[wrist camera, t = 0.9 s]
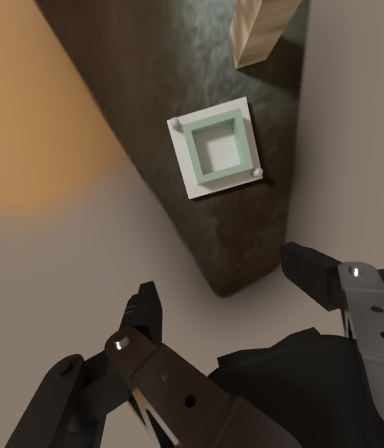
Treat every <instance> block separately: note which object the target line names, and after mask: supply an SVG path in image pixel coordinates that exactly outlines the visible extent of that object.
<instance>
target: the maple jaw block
mask: <svg viewBox="0 0 384 448" xmlns="http://www.w3.org/2000/svg"><path fill="white" fill-rule="evenodd" d="M301 1H302V0H237V4H236V8H235V12H234V15H233V19H232V23H231V27H230V31H229V39H230V44H231V49H232V53H233V58H234V63H235V67H236V69H238V68H242V67H245V66H248V65H251V64H254V63H258V62H261V61H264V60H266V59H267V57H268V56H269V54H270V52H271V51H272V49H273V47H274V46H275V44H276V42H277V41H278V39H279V37H280V36H281V34H282V32H283V31H284V29H285V27H286V26H287V24H288V22H289V21H290V19H291V17H292V16H293V14H294V12H295V11H296V9H297V7H298V6H299V4H300V2H301Z"/></svg>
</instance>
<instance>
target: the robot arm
mask: <svg viewBox="0 0 384 448" xmlns="http://www.w3.org/2000/svg"><path fill="white" fill-rule="evenodd" d="M279 253H280V260H281V267H282V271H283V273H284V275H285V276H286V277H287V278H288V279H289V280H290V281H292V282H293V283H294V284H295V285H297V286H298V287H299V288H300V289H301V290H303V291H304V292H305V293H306V294H308V295H309V296H310V297H311V298H313V299H314V300H315V301H316V302H317V303H319V304H320V305H321V306H322V307H324V308H325V309H326V310H327V311H332V310H335V309H338V308H339V309H340V310H341V319H342V325H343V330H344V335H345V337H343V336H338V335H321V334H320V333H319V332H318V331H317V330H316V329H315V328H314V327H312V328H310V329H306V330H303V331H300V332H296V333H294V334H291V335H289V336H287V337H286V338H284V339H283V340H281V341H280V342H278V343H276V344H275V345H273V346H272V347H270V348H262V349H248V350H240V351H237V352H233V353H230V354H227V355H224V356H221V357H218V358H217V360H218V364H219V368H217V369H216V370H214V371H213V372H212V373H210V374H209V375H208V376H207V377H206V376H205V375H204V374H203V373H201V372H200V371H199V370H197V369H196V368H195V367H194V366H192V365H191V364H190V363H189V362H187V361H186V360H185V359H183V358H182V357H181V356H180V355H178V354H177V353H176V352H174V351H173V350H172V349H171V348H169V347H168V346H167V345H166V344H164V343H162V315H163V314H162V306H161V303H160V299H159V297H158V294H157V290H156V287H155V284H154V282H153V281H150V282H147V283H143V284H140V287H139V292H138V294H135V295H133V296H132V297H131V298H130V299H129V301H128V303H127V306H126V309H125V312H124V315H123V318H122V322H121V325H120V328H119V330H118V331H117V332H115V333H114V334H113V335H112V336H110V338H109V339H108V340H107V341H106V343H105V347H104V350H103V351H102V352H100V353H99V354H97V355H95V356H93V357H91V358H89V359H88V360H86V361H84V359H83V357H82V356H81V355H80V354H74V355H70V356H68V357H66V358H64V359H62V360H61V361H59V362H58V363H57V364H55V365H54V366H53V367H52V368H51V369H50V370H49V371H48V373H47V374H46V375H45V377H44V379H43V380H42V382H41V384H40V386H39V388H38V389H37V391H36V393H35V395H34V396H33V398H32V400H31V402H30V403H29V405H28V407H27V409H26V410H25V412H24V414H23V416H22V418H21V419H20V421H19V423H18V425H17V426H16V428H15V430H14V432H13V433H12V435H11V437H10V439H9V441H8V443H7V444H6V446H5V448H100V444H101V439H102V434H103V430H104V425H105V420H106V415H107V414H108V413H110V412H111V411H112V410H114V409H115V408H117V407H118V406H120V405H121V404H123V403H124V402H126V401H127V403H128V404H129V406H130V407H131V409H132V410H133V412H134V413H135V415H136V416H137V418H138V419H139V421H140V422H141V424H142V425H143V427H144V428H145V430H146V432H147V433H148V435H149V436H150V438H151V440H152V441H153V443H154V445H155V447H156V448H384V269H380V270H377V269H376V268H375V267H373V266H372V265H369V264H366V263H362V262H344V263H342V262H340V261H338V260H336V259H334V258H332V257H329V256H327V255H325V254H323V253H320V252H319V251H317V250H315V249H312V248H308V247H303V246H301V245H299V244H296V243H294V242H289V243H285V244H282V245H280V246H279Z"/></svg>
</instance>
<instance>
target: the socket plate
mask: <svg viewBox="0 0 384 448" xmlns="http://www.w3.org/2000/svg"><path fill="white" fill-rule="evenodd" d="M167 123H168V127H169V130H170V134H171V137H172V141H173V144H174V148H175V151H176V155H177V158H178V162H179V165H180V169H181V172H182V176H183V180H184V183H185V187H186V190H187V194H188V197H189V199H192V198H195V197H199V196H202V195H206V194H209V193H212V192H216V191H219V190H223V189H226V188H230V187H233V186H237V185H240V184H244V183H247V182H251V181H254V180H258V179H261V178H263V177H262V174H263V170H262V169H261V167H260V162H259V158H258V153H257V148H256V143H255V138H254V134H253V129H252V124H251V119H250V115H249V110H248V105H247V100H246V97H243V98H240V99H236V100H233V101H230V102H226V103H223V104H220V105H217V106H213V107H210V108H207V109H203V110H200V111H197V112H194V113H190V114H187V115H184V116H181V117H177V118H176V117H174V118H172V119H171V120H167Z"/></svg>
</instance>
